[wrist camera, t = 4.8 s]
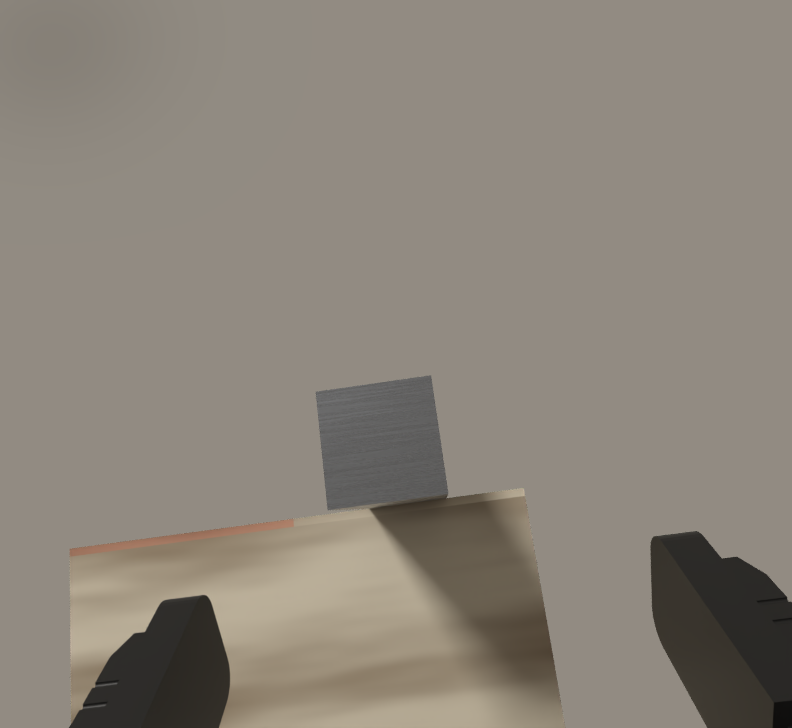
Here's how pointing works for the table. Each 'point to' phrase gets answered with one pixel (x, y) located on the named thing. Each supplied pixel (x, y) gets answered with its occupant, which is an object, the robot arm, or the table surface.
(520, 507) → the zigzag patterned pillar
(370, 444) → the metal block
